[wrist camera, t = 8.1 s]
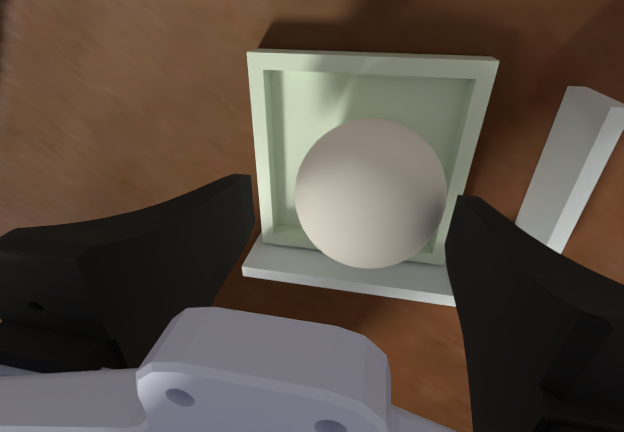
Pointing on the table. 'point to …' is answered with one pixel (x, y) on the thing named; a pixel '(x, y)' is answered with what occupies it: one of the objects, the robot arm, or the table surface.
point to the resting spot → (361, 105)
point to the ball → (370, 193)
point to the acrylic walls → (531, 218)
